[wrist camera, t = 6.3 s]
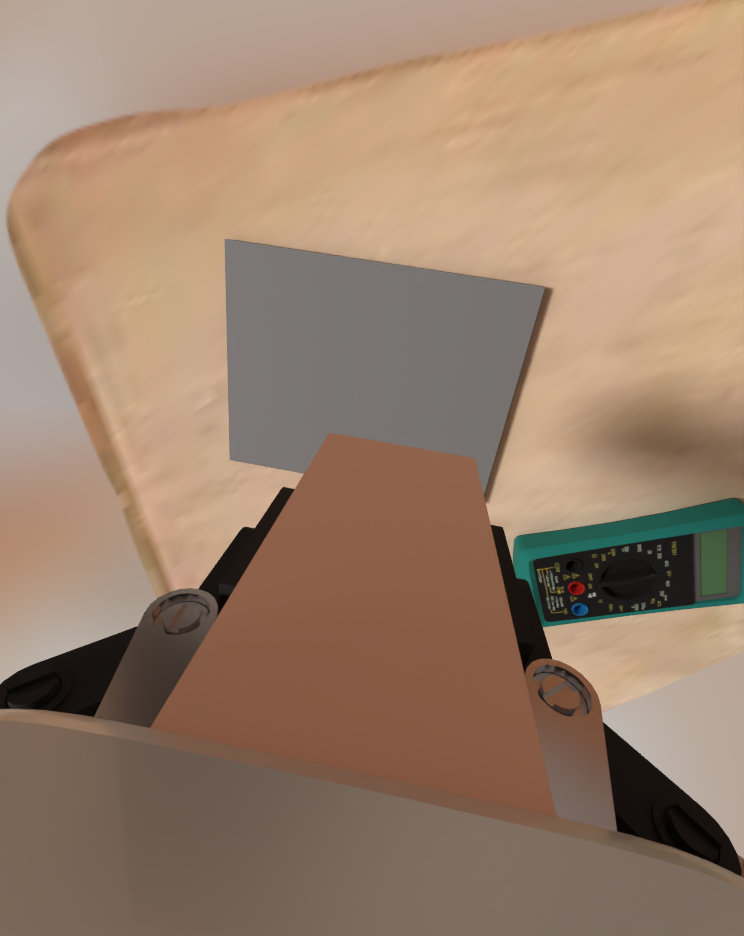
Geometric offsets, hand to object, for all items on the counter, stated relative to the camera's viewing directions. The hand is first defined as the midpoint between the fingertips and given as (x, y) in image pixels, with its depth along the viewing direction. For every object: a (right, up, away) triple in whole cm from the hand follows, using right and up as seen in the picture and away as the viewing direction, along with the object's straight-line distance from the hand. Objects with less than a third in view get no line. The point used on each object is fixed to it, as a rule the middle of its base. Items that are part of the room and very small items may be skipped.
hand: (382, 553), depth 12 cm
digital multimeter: (+18, -4, +19) cm, 26 cm away
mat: (-1, +8, +15) cm, 17 cm away
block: (0, +1, +2) cm, 2 cm away
